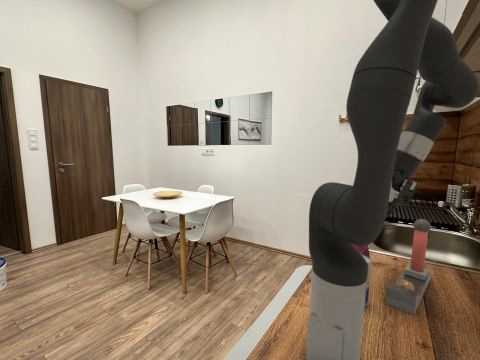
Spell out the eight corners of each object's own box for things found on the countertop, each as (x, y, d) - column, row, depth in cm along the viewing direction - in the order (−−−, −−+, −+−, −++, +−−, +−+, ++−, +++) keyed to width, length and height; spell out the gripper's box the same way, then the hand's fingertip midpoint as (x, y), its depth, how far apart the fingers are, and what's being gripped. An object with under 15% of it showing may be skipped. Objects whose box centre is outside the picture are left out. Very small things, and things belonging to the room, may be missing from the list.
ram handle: (424, 280, 70) (432, 223, 67) (404, 273, 73) (410, 219, 71) (427, 274, 73) (435, 219, 71) (408, 268, 77) (414, 215, 74)
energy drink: (353, 310, 60) (357, 264, 58) (340, 297, 65) (343, 254, 64) (372, 307, 61) (377, 262, 59) (358, 294, 67) (362, 252, 65)
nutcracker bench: (414, 315, 59) (416, 293, 58) (385, 303, 63) (388, 283, 62) (429, 279, 74) (432, 262, 73) (406, 272, 78) (408, 255, 78)
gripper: (377, 143, 68) (346, 194, 71) (419, 153, 54) (379, 215, 58) (398, 154, 70) (367, 203, 73) (443, 166, 56) (402, 226, 60)
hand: (372, 208), depth 65 cm, fingers open, 8 cm apart
